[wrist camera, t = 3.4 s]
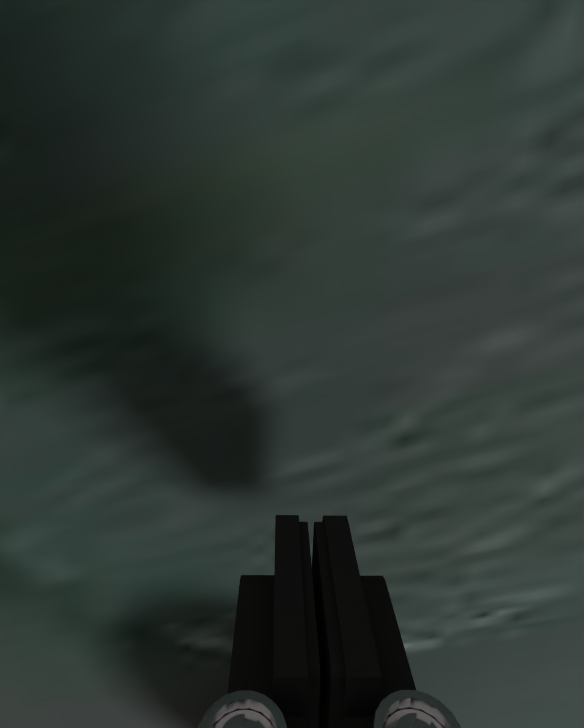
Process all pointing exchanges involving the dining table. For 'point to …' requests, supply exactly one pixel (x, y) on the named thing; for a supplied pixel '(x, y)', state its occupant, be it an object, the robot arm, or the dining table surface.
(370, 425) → the dining table surface
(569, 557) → the dining table surface
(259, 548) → the dining table surface
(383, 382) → the dining table surface
